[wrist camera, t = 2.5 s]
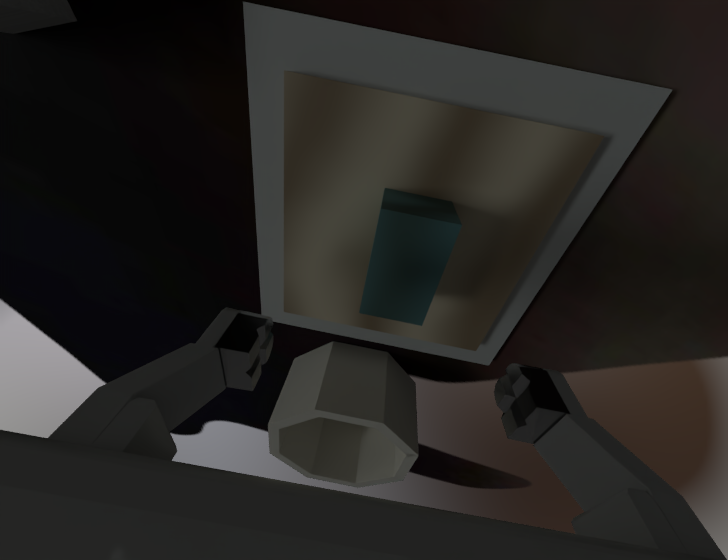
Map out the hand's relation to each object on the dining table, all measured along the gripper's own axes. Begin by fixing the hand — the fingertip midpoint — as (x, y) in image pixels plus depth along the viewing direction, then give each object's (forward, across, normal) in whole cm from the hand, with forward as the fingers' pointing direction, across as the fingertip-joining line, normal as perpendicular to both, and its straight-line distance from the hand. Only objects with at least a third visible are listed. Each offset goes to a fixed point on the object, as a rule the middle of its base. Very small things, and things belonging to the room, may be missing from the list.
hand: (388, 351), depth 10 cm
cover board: (+9, -1, 0) cm, 9 cm away
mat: (+9, -1, 0) cm, 9 cm away
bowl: (+9, 0, +16) cm, 18 cm away
